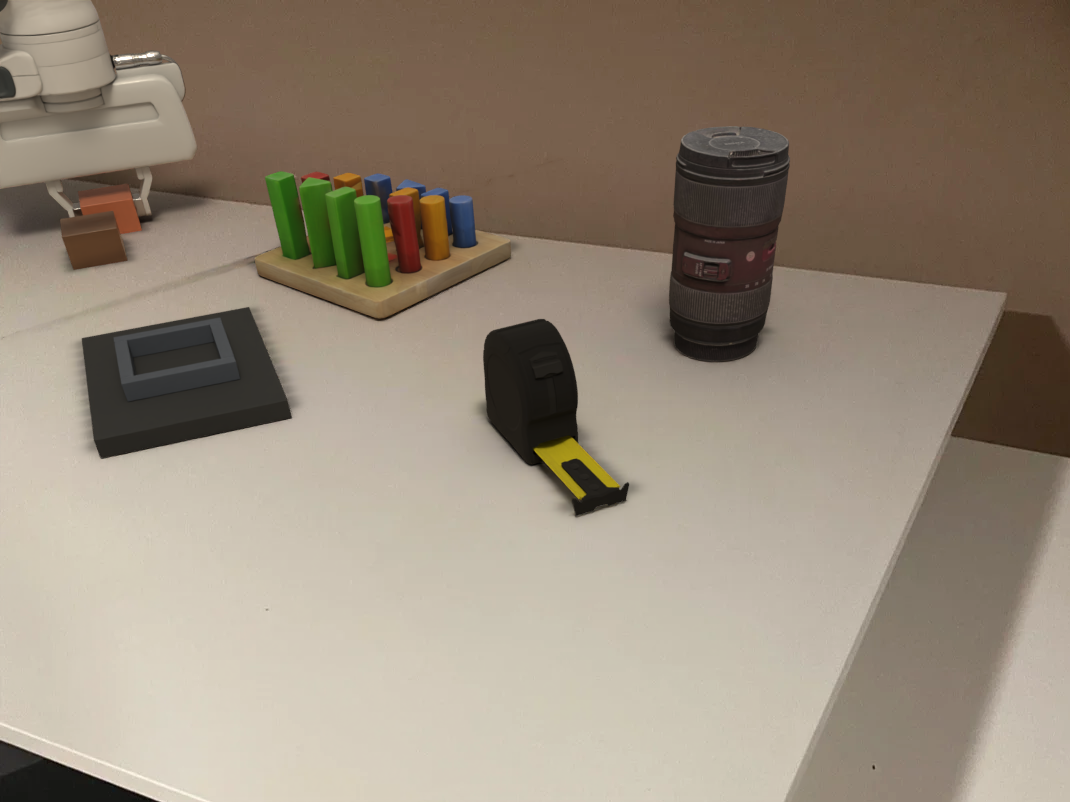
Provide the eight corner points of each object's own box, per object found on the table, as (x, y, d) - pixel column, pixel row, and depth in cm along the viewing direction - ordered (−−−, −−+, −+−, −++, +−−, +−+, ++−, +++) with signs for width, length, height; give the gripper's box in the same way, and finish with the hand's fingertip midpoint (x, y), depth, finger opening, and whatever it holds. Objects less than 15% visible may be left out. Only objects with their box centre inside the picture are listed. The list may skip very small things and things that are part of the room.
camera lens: (785, 354, 80) (814, 146, 70) (692, 374, 78) (708, 164, 68) (737, 314, 86) (757, 115, 75) (649, 332, 84) (658, 131, 73)
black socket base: (291, 418, 76) (283, 380, 74) (101, 458, 73) (86, 421, 71) (253, 323, 88) (244, 289, 86) (87, 355, 85) (74, 320, 83)
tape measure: (485, 419, 75) (476, 313, 69) (538, 405, 76) (533, 299, 70) (573, 518, 65) (570, 405, 60) (631, 500, 67) (635, 387, 61)
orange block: (145, 240, 103) (132, 198, 100) (94, 248, 102) (80, 206, 99) (140, 224, 106) (128, 183, 104) (91, 232, 105) (77, 191, 102)
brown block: (130, 270, 98) (116, 227, 95) (77, 280, 96) (61, 236, 94) (126, 252, 101) (113, 210, 98) (74, 261, 100) (59, 219, 97)
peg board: (514, 257, 96) (509, 159, 90) (381, 322, 87) (365, 218, 81) (389, 219, 104) (376, 126, 98) (255, 275, 96) (232, 177, 89)
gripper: (171, 40, 97) (210, 193, 107) (-54, 68, 93) (8, 225, 103) (179, 54, 93) (218, 212, 103) (-57, 84, 89) (8, 247, 99)
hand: (112, 219), depth 103 cm, fingers closed on orange block, 5 cm apart
